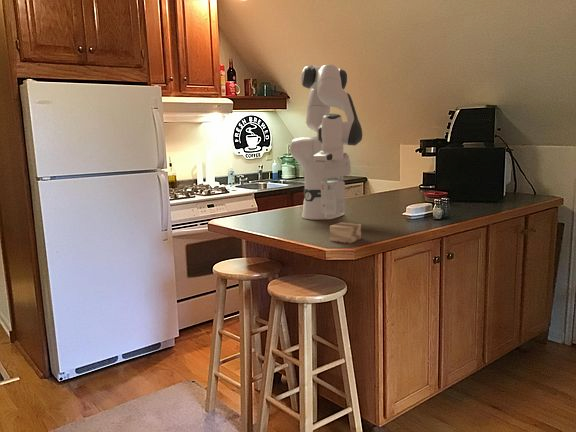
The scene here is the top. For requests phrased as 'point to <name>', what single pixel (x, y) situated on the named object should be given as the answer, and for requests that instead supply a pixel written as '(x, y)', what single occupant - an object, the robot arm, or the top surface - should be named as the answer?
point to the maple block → (345, 232)
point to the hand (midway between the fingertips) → (332, 188)
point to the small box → (333, 198)
